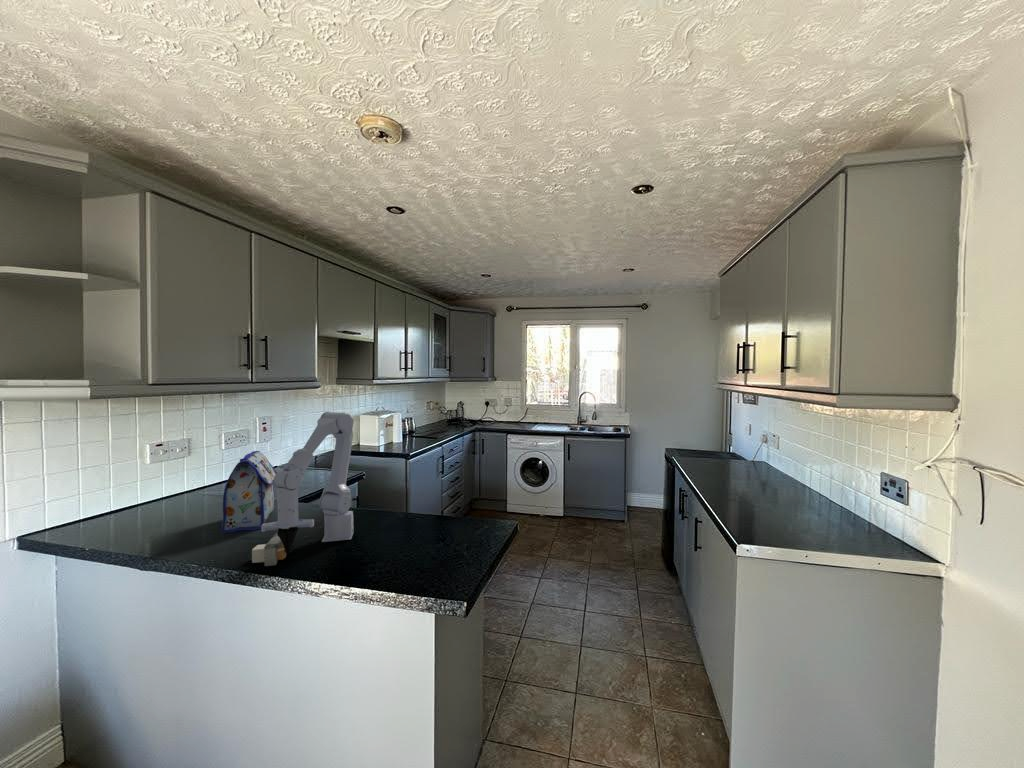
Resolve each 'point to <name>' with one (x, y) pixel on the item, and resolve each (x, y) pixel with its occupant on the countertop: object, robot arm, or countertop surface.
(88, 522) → the countertop surface
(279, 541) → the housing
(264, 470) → the lunch bag
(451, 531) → the countertop surface
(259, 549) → the plug
